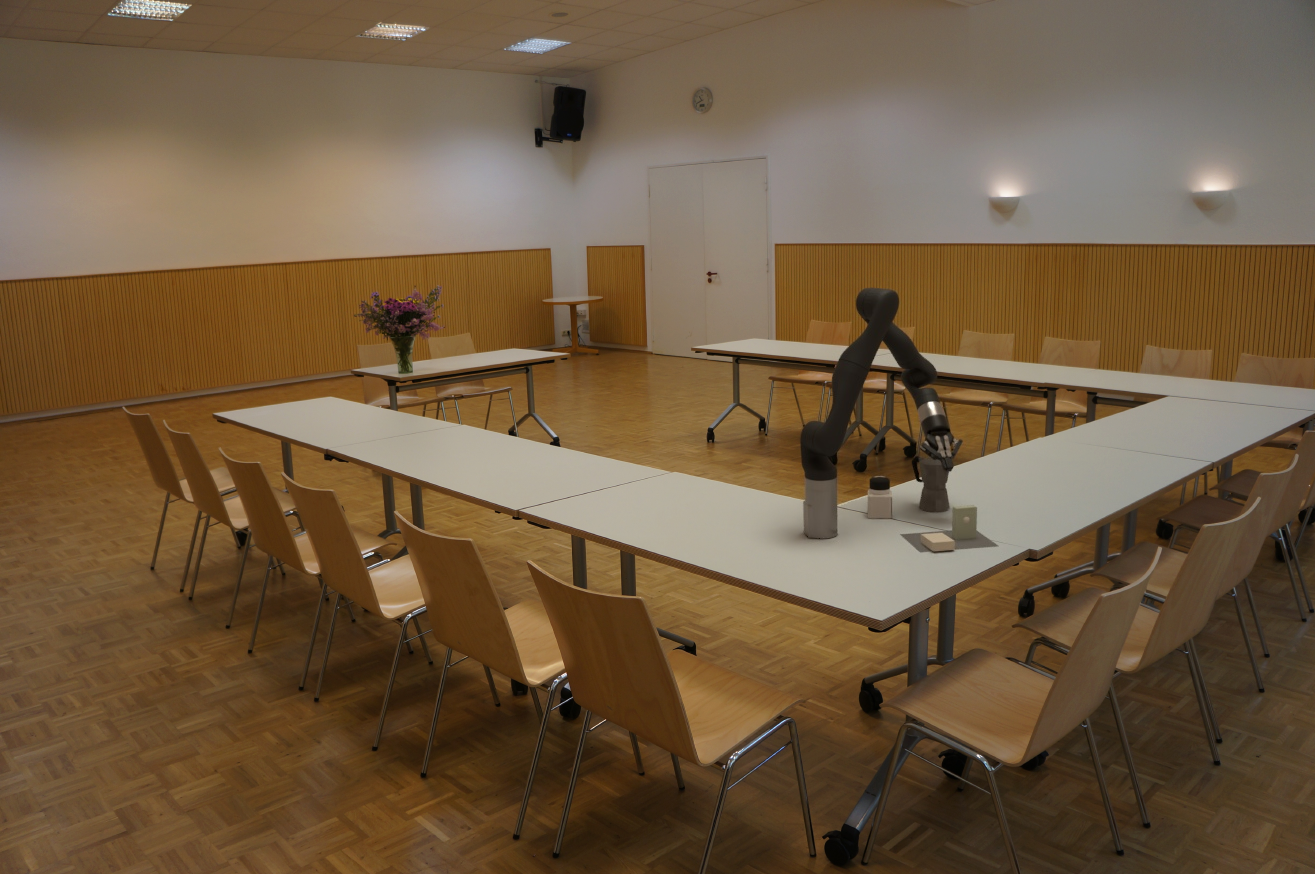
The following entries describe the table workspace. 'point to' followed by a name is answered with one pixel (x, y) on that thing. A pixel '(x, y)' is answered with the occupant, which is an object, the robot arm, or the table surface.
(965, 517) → the one-dot tile
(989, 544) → the slate mat
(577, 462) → the table surface
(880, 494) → the medicine bottle
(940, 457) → the robot arm
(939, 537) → the plain beige block
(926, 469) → the coffeepot
